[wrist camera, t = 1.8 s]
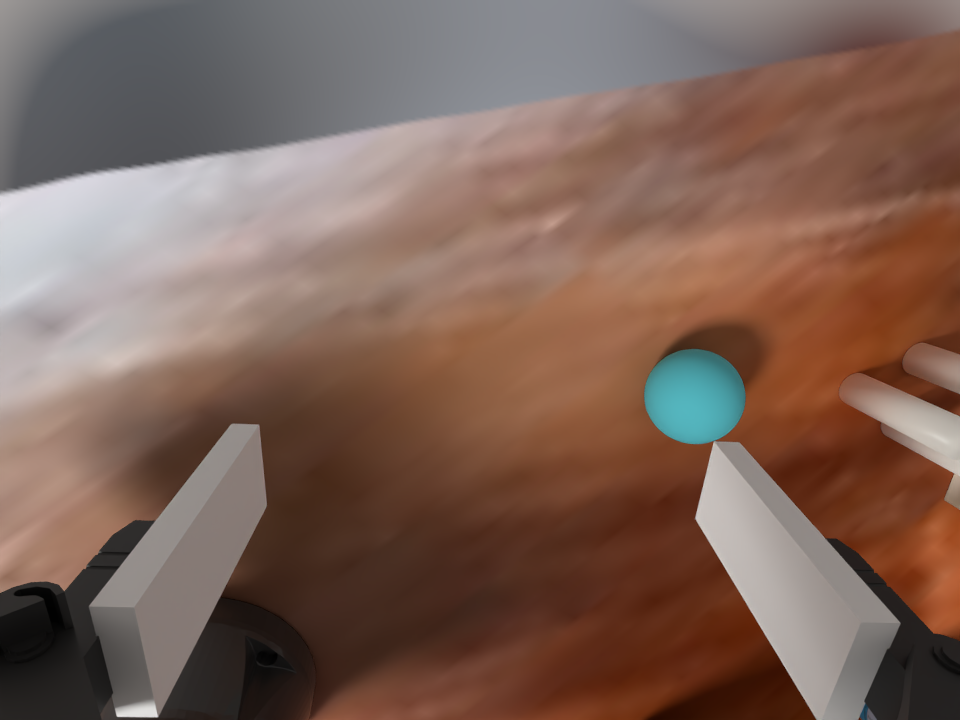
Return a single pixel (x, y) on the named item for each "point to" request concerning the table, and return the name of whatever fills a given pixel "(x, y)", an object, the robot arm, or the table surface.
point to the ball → (694, 396)
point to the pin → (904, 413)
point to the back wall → (954, 492)
